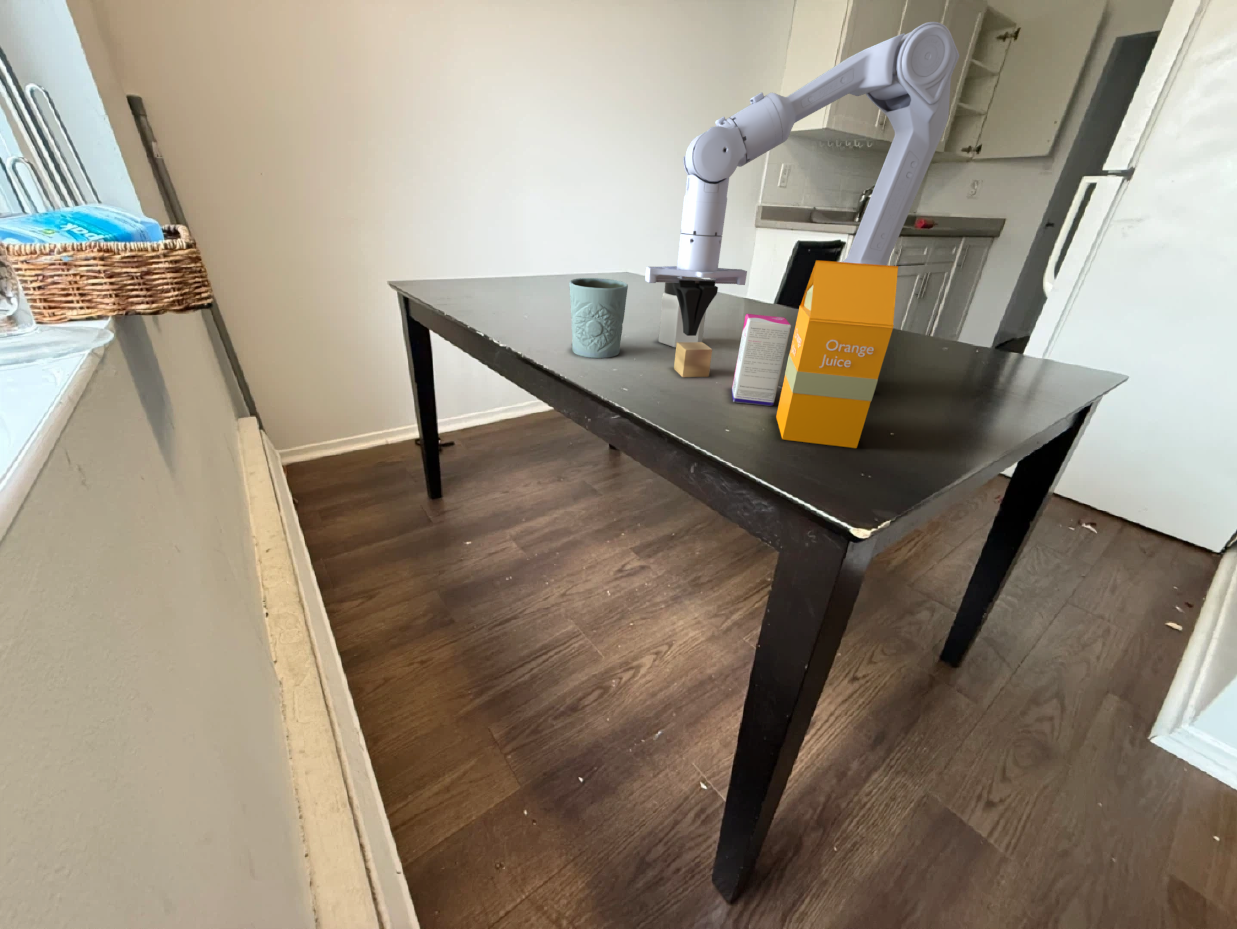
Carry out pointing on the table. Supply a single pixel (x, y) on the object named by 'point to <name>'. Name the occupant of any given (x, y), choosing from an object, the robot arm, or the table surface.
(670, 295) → the jar
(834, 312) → the orange juice
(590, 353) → the drinking glass
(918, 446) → the table surface
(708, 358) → the maple block
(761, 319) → the supplement box
